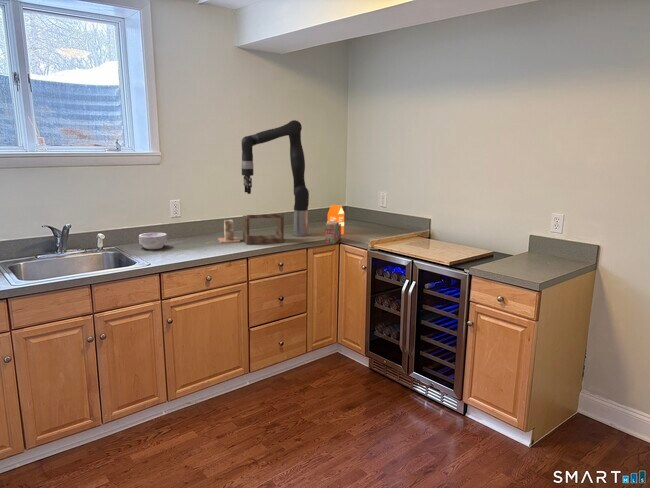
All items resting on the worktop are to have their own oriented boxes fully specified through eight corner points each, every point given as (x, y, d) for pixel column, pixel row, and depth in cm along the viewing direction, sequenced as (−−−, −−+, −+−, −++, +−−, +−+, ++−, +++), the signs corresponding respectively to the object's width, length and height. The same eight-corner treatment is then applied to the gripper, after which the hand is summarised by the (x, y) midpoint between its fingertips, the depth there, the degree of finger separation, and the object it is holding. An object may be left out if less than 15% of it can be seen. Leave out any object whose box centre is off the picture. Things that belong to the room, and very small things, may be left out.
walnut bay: (278, 238, 314) (278, 211, 310) (283, 242, 303) (283, 214, 299) (243, 240, 305) (242, 212, 302) (247, 244, 295) (246, 215, 291)
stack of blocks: (331, 236, 326) (332, 218, 323) (341, 237, 325) (341, 219, 322) (324, 243, 306) (325, 223, 303) (334, 243, 304) (335, 224, 302)
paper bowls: (157, 243, 291) (157, 230, 289) (172, 247, 282) (172, 234, 280) (134, 247, 279) (133, 234, 278) (148, 252, 270) (148, 238, 268)
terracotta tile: (236, 238, 312) (236, 237, 312) (240, 242, 301) (240, 240, 301) (217, 239, 308) (217, 237, 308) (220, 243, 297) (220, 241, 297)
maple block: (232, 238, 307) (231, 219, 305) (233, 240, 303) (233, 221, 300) (224, 238, 306) (223, 220, 303) (225, 240, 301) (225, 221, 298)
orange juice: (337, 235, 329) (338, 206, 325) (326, 233, 334) (327, 205, 330) (343, 234, 335) (344, 205, 331) (333, 232, 340) (334, 204, 336)
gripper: (255, 168, 308) (255, 194, 311) (250, 167, 321) (251, 191, 324) (243, 168, 305) (244, 194, 309) (239, 167, 318) (239, 191, 322)
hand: (247, 193), depth 316 cm, fingers open, 8 cm apart
